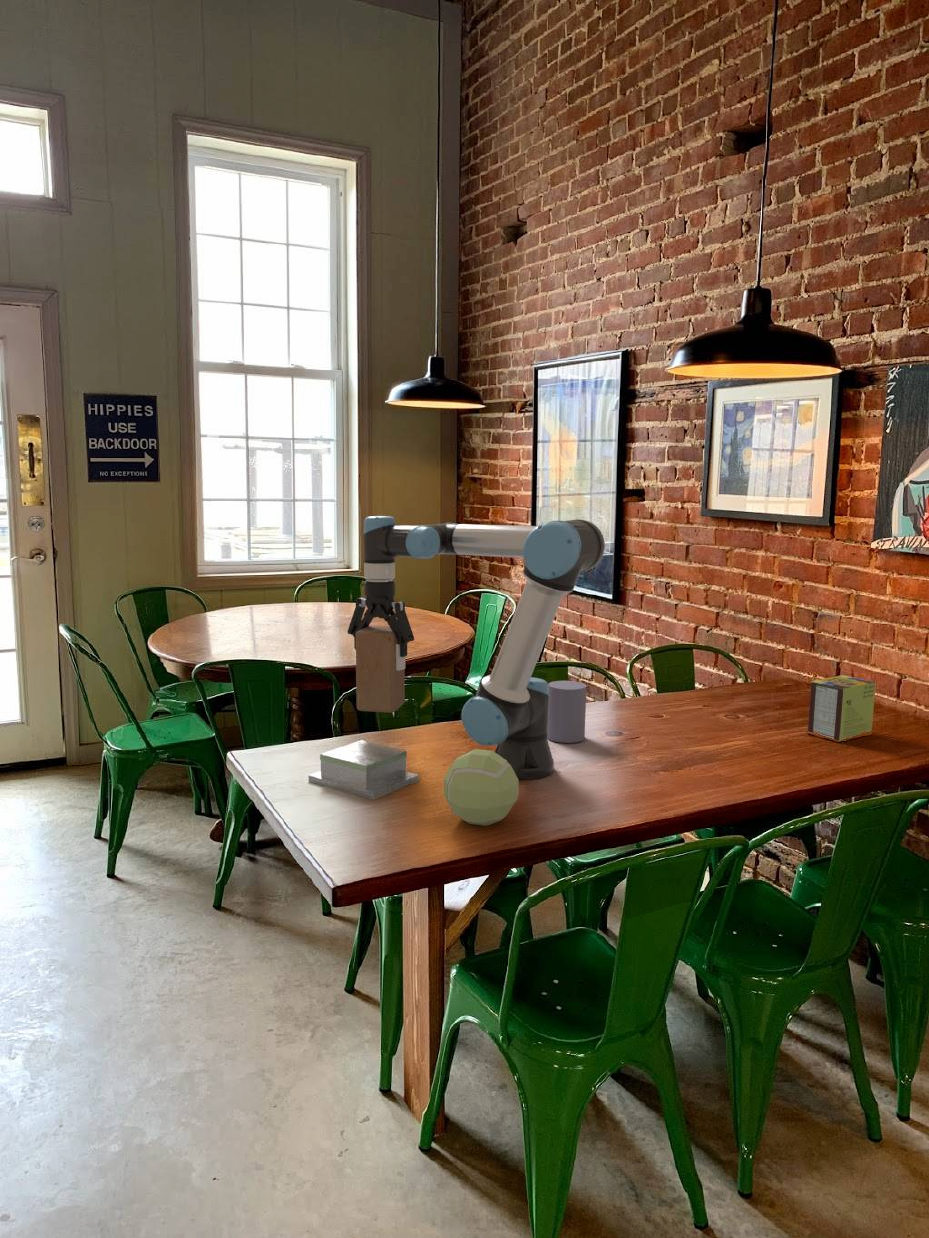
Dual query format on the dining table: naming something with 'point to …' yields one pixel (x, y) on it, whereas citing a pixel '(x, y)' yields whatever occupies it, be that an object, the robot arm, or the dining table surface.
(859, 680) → the protein box
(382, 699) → the wooden block
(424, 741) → the dining table surface
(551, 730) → the container
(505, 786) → the tennis ball
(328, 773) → the stand
